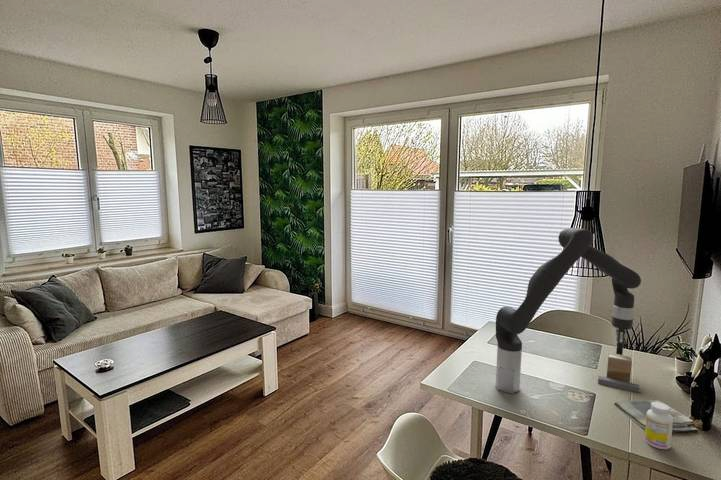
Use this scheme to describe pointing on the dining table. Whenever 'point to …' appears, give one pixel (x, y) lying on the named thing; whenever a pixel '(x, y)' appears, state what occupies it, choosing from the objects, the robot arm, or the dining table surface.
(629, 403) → the dish towel
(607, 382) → the rail
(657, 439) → the supplement bottle
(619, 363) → the walnut slab
